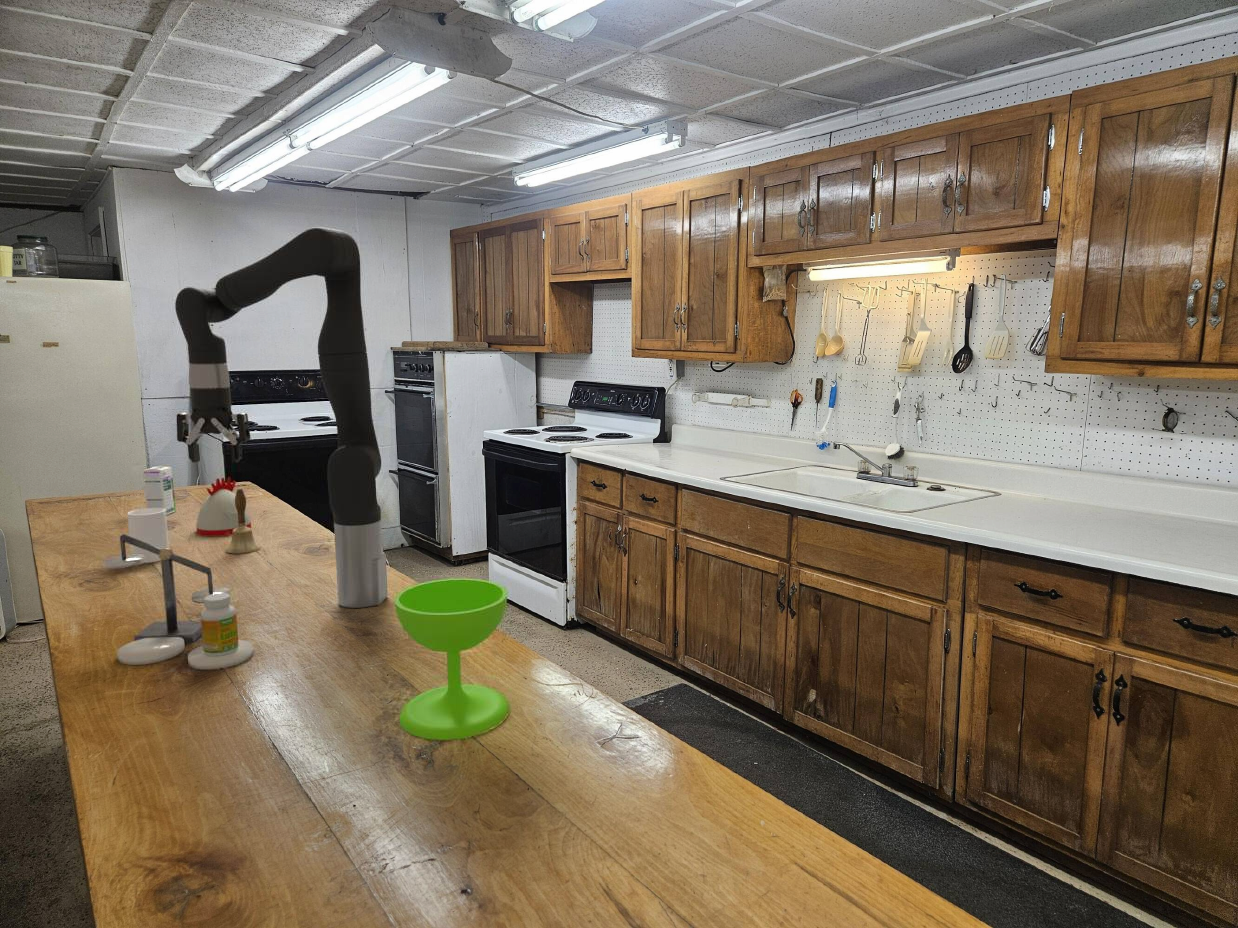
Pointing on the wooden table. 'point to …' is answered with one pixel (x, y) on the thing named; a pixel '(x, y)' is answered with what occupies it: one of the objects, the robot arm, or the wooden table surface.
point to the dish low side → (220, 657)
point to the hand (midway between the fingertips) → (215, 461)
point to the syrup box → (159, 488)
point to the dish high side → (150, 650)
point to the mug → (148, 530)
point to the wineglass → (452, 654)
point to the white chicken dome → (220, 511)
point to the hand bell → (242, 530)
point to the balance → (166, 589)
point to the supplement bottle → (219, 625)
